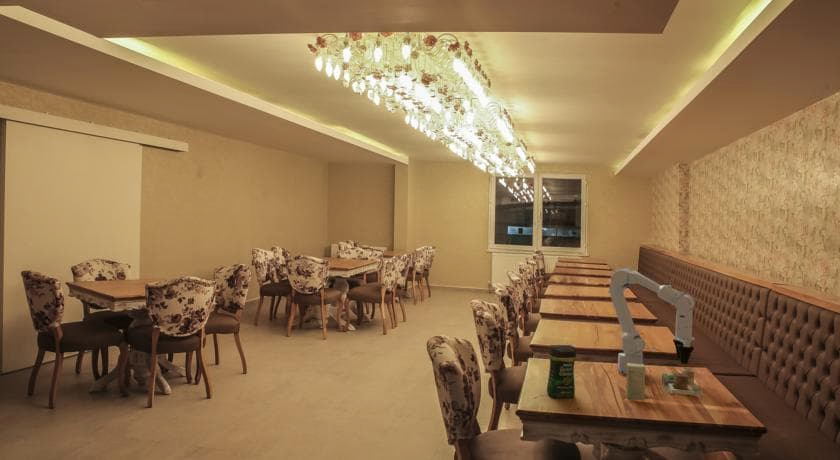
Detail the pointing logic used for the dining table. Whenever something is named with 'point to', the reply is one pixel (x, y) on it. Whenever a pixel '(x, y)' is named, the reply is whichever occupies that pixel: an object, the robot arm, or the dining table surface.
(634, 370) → the skincare box
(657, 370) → the dining table surface
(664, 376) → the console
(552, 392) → the coffee jar
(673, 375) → the button
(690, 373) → the beech block
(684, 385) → the walnut block
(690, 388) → the grey compartment tray
